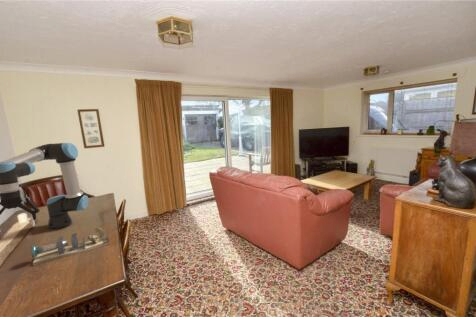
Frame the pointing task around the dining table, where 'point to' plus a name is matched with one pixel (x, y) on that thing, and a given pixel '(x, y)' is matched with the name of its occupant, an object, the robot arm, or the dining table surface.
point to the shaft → (45, 248)
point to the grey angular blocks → (74, 243)
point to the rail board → (68, 251)
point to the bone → (94, 237)
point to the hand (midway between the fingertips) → (16, 229)
